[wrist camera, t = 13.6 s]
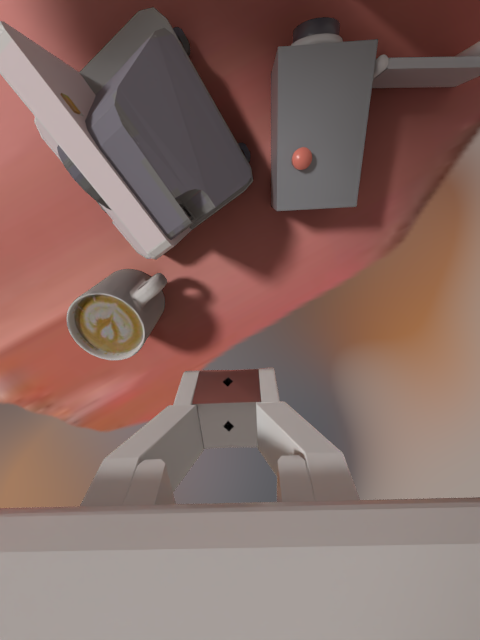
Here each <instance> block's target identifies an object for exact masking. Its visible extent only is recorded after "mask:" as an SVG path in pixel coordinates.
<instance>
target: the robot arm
mask: <svg viewBox="0 0 480 640" xmlns="http://www.w3.org/2000/svg"><path fill="white" fill-rule="evenodd" d="M225 447H258V450H259V451H260V453H261V454H262V455H263V457H264V458H265V460H266V461H267V463H268V464H269V465H270V467H271V469H272V470H273V472H274V473H275V474H276V475H277V502H262V503H261V502H260V503H214V504H176V502H175V498H174V494H173V492H174V491H175V489H176V488H177V487H178V485H179V484H180V482H181V481H182V480H183V478H184V477H185V476H186V474H187V473H188V471H189V470H190V468H191V467H192V466H193V465H194V463H195V462H196V461H197V459H198V458H199V456H200V455H201V454H202V452H203V451H204V449H207V448H225ZM0 640H480V497H478V498H435V499H433V498H432V499H391V500H389V499H387V500H360V498H359V495H358V493H357V490H356V488H355V485H354V482H353V480H352V477H351V474H350V471H349V469H348V466H347V463H346V461H345V458H344V455H343V453H342V452H341V451H340V450H339V449H338V448H336V447H335V446H334V445H333V444H332V443H331V442H330V441H329V440H327V439H326V438H325V437H324V436H323V435H322V434H320V432H318V431H317V430H316V429H315V428H314V427H313V426H311V425H310V424H309V423H308V422H307V421H306V420H305V419H304V418H302V417H301V416H300V415H299V414H298V413H297V412H296V411H295V410H293V409H292V408H291V407H290V406H289V405H287V403H286V402H280V399H279V394H278V388H277V382H276V376H275V370H274V368H260V369H249V370H203V371H185V372H184V373H183V376H182V379H181V382H180V385H179V389H178V392H177V395H176V398H175V401H174V404H173V405H171V406H168V407H166V408H165V409H164V410H163V411H162V412H160V413H159V414H158V415H157V416H155V417H154V418H153V419H152V420H151V421H149V422H148V423H147V424H146V425H145V426H143V427H142V428H141V429H140V430H139V431H137V432H136V433H135V434H134V435H132V436H131V437H130V438H129V439H128V440H126V441H125V442H124V443H123V444H122V445H120V446H119V447H118V448H117V449H115V450H114V451H113V452H112V453H111V454H109V455H108V456H107V457H106V458H105V459H104V460H103V462H102V464H101V466H100V468H99V470H98V472H97V473H96V476H95V478H94V479H93V481H92V483H91V485H90V487H89V489H88V491H87V493H86V495H85V497H84V499H83V501H82V503H81V505H80V506H78V507H37V508H0Z"/></svg>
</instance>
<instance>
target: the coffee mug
mask: <svg viewBox="0 0 480 640" xmlns="http://www.w3.org/2000/svg"><path fill="white" fill-rule="evenodd" d="M166 283H167V279H166V278H165V276H164V275H163V274H161V273H157V274H155V275H154V276H153V277H150V276H149V275H147V274H145V273H144V272H141V271H138V270H134V269H123V270H119V271H116V272H114V273H112V274H111V275H110V276H108V277H107V278H105V279H104V280H102V281H101V282H100V283H98V284H97V285H95V286H94V287H92V288H91V289H90V290H88V291H87V292H85V293H84V294H82V295H81V296H79V297H78V298H77V299H76V300H75V301H74V302H73V303H72V304H71V305H70V307H69V310H68V313H67V326H68V329H69V332H70V334H71V336H72V337H73V339H74V340H75V341H76V343H77V344H78V345H79V346H80V347H81V348H83V349H84V350H85V351H87V352H88V353H90V354H92V355H94V356H96V357H99V358H102V359H106V360H122V359H126V358H129V357H131V356H133V355H134V354H136V353H137V352H138V351H139V350H140V349H141V347H142V346H143V344H144V343H145V341H146V340H147V338H148V336H149V335H150V333H151V331H152V330H153V328H154V326H155V325H156V323H157V322H158V320H159V318H160V317H161V315H162V313H163V311H164V307H165V298H164V294H163V292H162V289H163V288H164V287H165V285H166Z"/></svg>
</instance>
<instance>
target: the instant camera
mask: <svg viewBox="0 0 480 640" xmlns="http://www.w3.org/2000/svg"><path fill="white" fill-rule="evenodd" d="M179 40H180V41H181V42H182V44H183V46H182V44H181V43H180V41H179ZM189 55H190V44H189V42H188V40H187V38H186V36H185V34H184V32H183V31H182V29H180V28H179V27H175V28H173V29H172V27H171V25H170V23H169V21H168V20H167V18H165V17H164V16H163V15H162V14H161V13H160V12H158V11H157V10H156V9H155V8H154V7H152V8H148V9H144V10H140V11H138V12H137V13H136V14H135V15H134V16H133V17H132V18H131V19H130V21H129V22H128V23H127V24H126V25H125V26H124V27H123V28H122V29H121V30H120V31H119V32H118V33H117V34H116V35H115V36H114V37H113V38H112V39H111V40H110V41H109V42H108V43H107V44H106V45H105V46H104V47H103V48H102V50H101V51H100V52H99V53H98V54H97V55H96V56H95V57H94V58H93V59H92V60H91V61H90V62H89V63H88V64H87V65H86V66H85V67H84V68H83V69H82V70H81V71H80V72H78V71H76V70H75V69H73V68H72V67H70V66H69V65H67V64H66V63H64V62H63V61H61V60H60V59H59V58H57V57H56V56H54V55H53V54H51V53H50V52H48V51H47V50H45V49H44V48H42V47H41V46H39V45H38V44H36V43H35V42H33V41H32V40H30V39H29V38H27V37H26V36H24V35H23V34H21V33H20V32H18V31H17V30H15V29H14V28H12V27H11V26H9V25H8V24H6V23H5V22H2V21H0V74H1V75H2V76H3V78H4V79H5V80H6V81H7V83H8V84H9V85H10V86H11V87H12V89H13V90H14V91H15V92H16V94H17V95H18V96H19V97H20V98H21V100H22V101H23V102H24V103H25V105H26V106H27V107H28V108H29V109H30V111H31V112H32V113H33V114H34V116H35V120H34V122H35V124H36V126H37V128H38V131H39V133H40V135H41V137H42V139H43V140H44V141H45V142H46V143H47V145H48V146H49V147H50V148H51V149H52V151H53V152H54V153H55V154H56V155H57V157H58V158H59V159H60V160H61V161H62V163H63V164H64V166H65V168H66V169H67V170H68V172H69V173H70V174H71V176H72V177H73V178H74V180H75V181H76V182H77V183H78V184H79V185H80V186H81V187H82V188H83V189H84V190H85V191H86V192H87V193H88V194H89V195H90V196H91V197H92V198H94V199H95V200H96V201H97V202H98V204H99V205H100V206H101V208H102V209H103V210H104V211H105V212H106V213H107V214H108V215H109V216H110V217H111V218H112V220H113V222H112V223H113V224H114V225H115V226H116V228H117V229H118V230H119V231H120V232H121V234H122V235H123V236H124V237H125V238H126V240H127V241H128V242H129V243H130V244H131V246H132V247H133V248H134V249H135V250H136V252H137V253H139V254H140V255H142V256H144V257H145V258H147V259H150V258H152V259H158V258H159V257H160V256H162V255H163V254H164V253H166V252H167V251H169V250H170V249H171V248H173V247H174V246H175V245H176V244H177V243H178V242H180V241H181V240H182V239H183V238H184V237H185V236H186V235H187V234H188V233H189V232H190V231H191V230H193V229H194V228H195V227H197V226H198V225H199V224H201V223H202V222H203V221H205V220H206V219H207V218H209V217H210V216H212V215H213V214H214V213H216V212H217V211H218V210H220V209H221V208H222V207H224V206H225V205H227V204H228V203H229V202H231V201H232V200H233V199H235V198H236V197H237V196H239V195H240V194H241V193H243V192H244V191H245V190H246V189H247V188H248V187H249V185H250V184H251V183H252V182H253V176H252V170H251V166H250V165H249V161H250V151H249V150H248V148H247V146H246V144H244V143H237V142H236V140H235V138H234V136H233V135H232V133H231V131H230V129H229V128H228V126H227V124H226V122H225V120H224V119H223V117H222V115H221V113H220V112H219V110H218V108H217V106H216V105H215V103H214V101H213V99H212V98H211V96H210V94H209V92H208V90H207V89H206V87H205V85H204V83H203V82H202V80H201V78H200V76H199V75H198V73H197V71H196V69H195V67H194V66H193V64H192V62H191V60H190V59H189ZM241 150H242V151H243V152H244V154H245V156H244V154H243V152H242V151H241Z"/></svg>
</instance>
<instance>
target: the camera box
mask: <svg viewBox="0 0 480 640" xmlns="http://www.w3.org/2000/svg"><path fill="white" fill-rule="evenodd" d="M339 30H340V23H339V21H338V20H336V19H334V18H328V17H323V18H315V19H311V20H308V21H306V22H303V23H302V24H300V25H298V26H297V27H296V28H295V29H294V31H293V44H292V45H291V46H282V47H278V49H277V53H276V57H275V61H274V64H273V68H272V72H271V207H272V208H274V209H275V210H276V211H288V210H306V209H324V208H342V207H356V206H357V198H358V190H359V183H360V175H361V167H362V160H363V152H364V144H365V137H366V129H367V121H368V113H369V106H370V98H371V90H372V83H373V75H374V67H375V60H376V52H377V44H378V39H375V40H362V41H348V42H343V39H342V38H341V37H340V36H339Z"/></svg>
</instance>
